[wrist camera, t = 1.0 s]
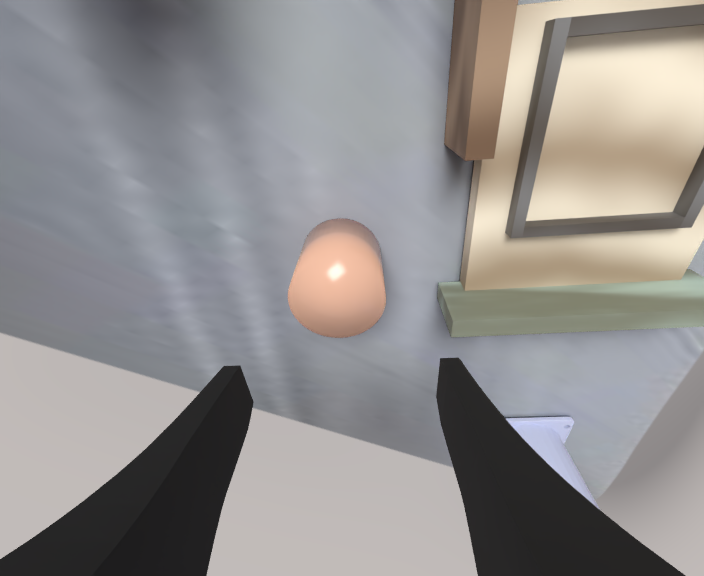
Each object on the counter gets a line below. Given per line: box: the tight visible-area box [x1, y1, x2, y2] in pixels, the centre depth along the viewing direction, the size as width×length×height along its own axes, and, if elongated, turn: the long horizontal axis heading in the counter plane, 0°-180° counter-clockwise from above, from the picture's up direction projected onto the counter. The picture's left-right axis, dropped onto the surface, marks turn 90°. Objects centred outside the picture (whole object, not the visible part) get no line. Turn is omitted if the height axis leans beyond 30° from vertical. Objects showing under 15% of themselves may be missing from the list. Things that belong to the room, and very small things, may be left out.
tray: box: [437, 0, 704, 337], centre depth 16 cm, size 15×16×4 cm
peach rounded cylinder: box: [288, 219, 386, 338], centre depth 19 cm, size 5×5×5 cm
